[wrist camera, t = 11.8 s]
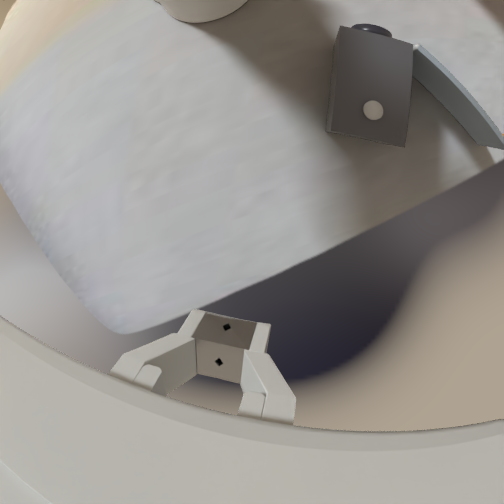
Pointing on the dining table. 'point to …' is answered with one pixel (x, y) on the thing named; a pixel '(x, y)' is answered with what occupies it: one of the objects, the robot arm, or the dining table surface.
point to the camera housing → (370, 85)
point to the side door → (455, 98)
